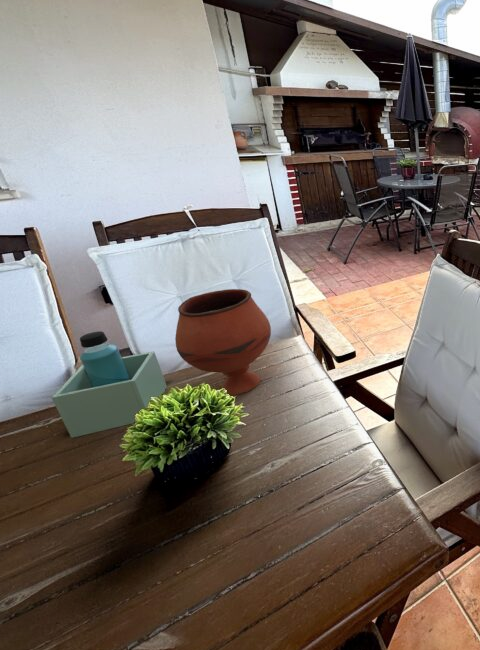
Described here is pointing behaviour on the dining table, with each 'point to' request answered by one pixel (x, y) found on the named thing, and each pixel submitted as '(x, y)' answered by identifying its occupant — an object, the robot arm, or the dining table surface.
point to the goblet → (223, 336)
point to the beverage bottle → (102, 360)
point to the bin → (109, 397)
